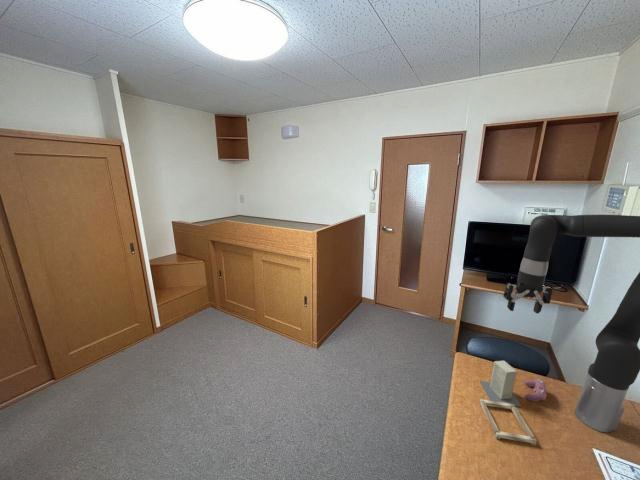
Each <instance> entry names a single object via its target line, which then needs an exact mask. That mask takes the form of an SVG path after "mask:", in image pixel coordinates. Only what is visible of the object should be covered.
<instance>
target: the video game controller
mask: <svg viewBox="0 0 640 480" xmlns="http://www.w3.org/2000/svg"><path fill="white" fill-rule="evenodd" d="M526 385H527V387H531V388H533V389H532V393H526V394H525V395H524V398H525V399H526V400H528V401H530V402H537V401H543V400H546V399H547V385H546V383H545V382H544V380H541V379H540V378H535V379H527V380H525V381H524V386H526Z"/></svg>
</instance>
